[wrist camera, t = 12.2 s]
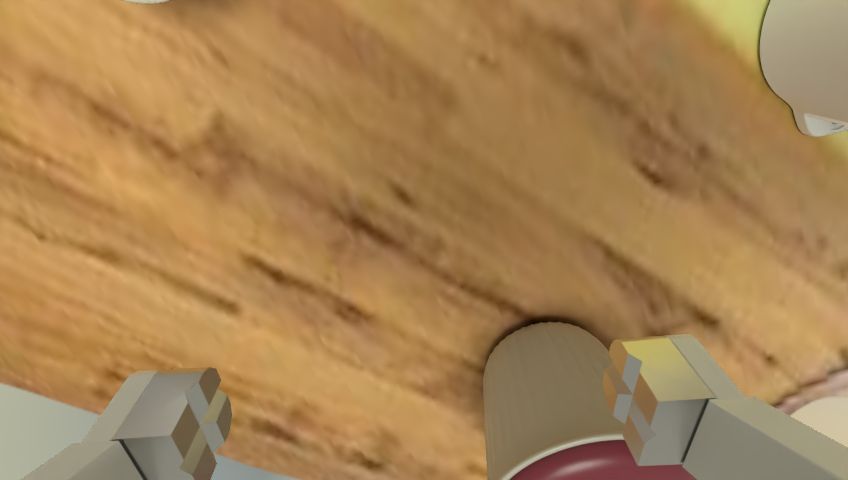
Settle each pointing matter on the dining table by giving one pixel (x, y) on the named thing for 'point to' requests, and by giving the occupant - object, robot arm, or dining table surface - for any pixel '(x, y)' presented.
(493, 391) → the canister
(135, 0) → the flower pot
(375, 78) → the dining table surface
